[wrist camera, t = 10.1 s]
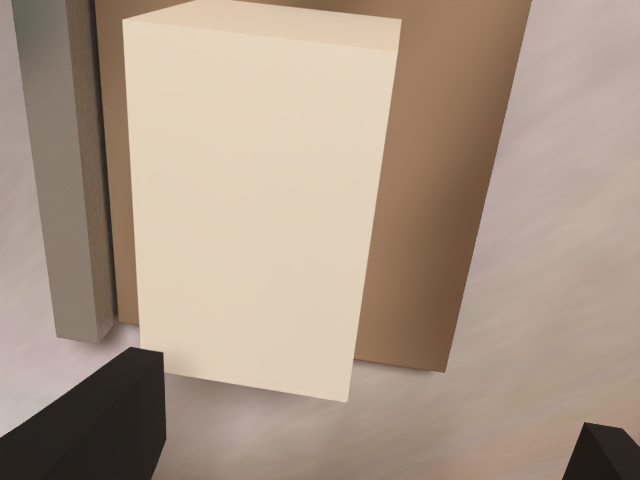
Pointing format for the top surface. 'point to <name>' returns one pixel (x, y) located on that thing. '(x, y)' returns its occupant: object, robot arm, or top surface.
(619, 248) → the top surface
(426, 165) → the shelf board
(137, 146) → the carton
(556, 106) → the top surface
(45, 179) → the price rail
